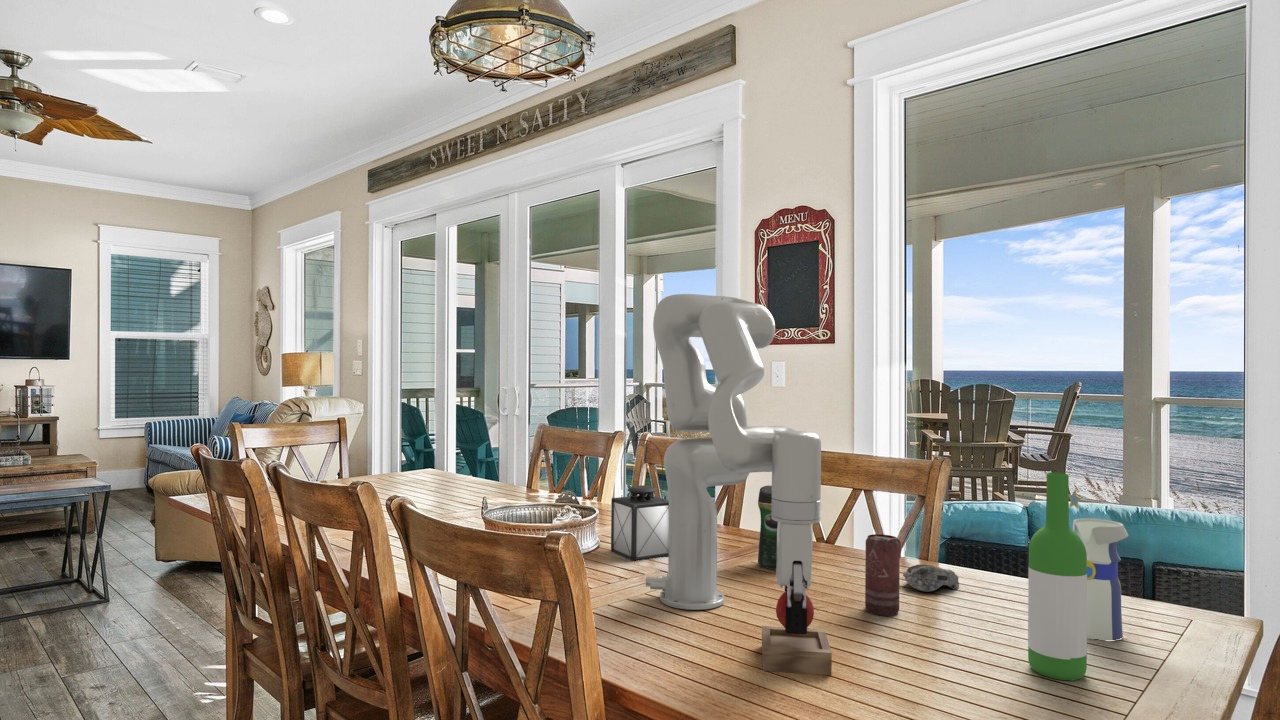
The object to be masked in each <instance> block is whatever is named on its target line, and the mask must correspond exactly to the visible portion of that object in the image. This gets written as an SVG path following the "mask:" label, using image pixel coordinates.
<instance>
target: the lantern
mask: <svg viewBox="0 0 1280 720" xmlns="http://www.w3.org/2000/svg"><path fill="white" fill-rule="evenodd" d="M637 441H646V442H648V443H651V444H652V445H654V446H655V448H656V449H657V450H658V453H659V455H660V460H661V471H662V473H661V474H662V476H661V478H662V481H661V483H662V492H664V461H663V458H662V454H661V451H660V449H659V448H658V446H657V445H656V444H655V443H654V442H652V441H651V440H648V439H635V440H633V441H631V442H629V443H628V444H627V445H626V446H625V447H624V449H623V452H622V454H621V455H622V456H621V460H620V483H621V489H623V473H622V472H623V471H622V469H623V458H624V453H625V451H626V449H627V448H628V446H629V445H631V444H632V443H634V442H637ZM656 491H657V489H656V488H655V487H653V486H651V485H632V486H630V487H629V488H627V492H630V493H629V494H630V495H629V496H621V497H619V496H618V497H611V511H610V513H611V515H610V516H611V517H610V519H611V523H610V525H611V527H610V552H611V553H614V554H617V555H618V556H620V557H623V558H625V559H628V560H630V561H631V562H633V561H634V562H637V561H638V560H639V561H645V560H651V559H653V558H654V559H659V558H660V557H661V558H667V557H668V551H669V499H666V498H663V497H662V498H661V497H658V496H654V493H655V492H656Z"/></svg>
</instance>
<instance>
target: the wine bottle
mask: <svg viewBox="0 0 1280 720" xmlns="http://www.w3.org/2000/svg"><path fill="white" fill-rule="evenodd" d="M1069 480H1070V479H1069V475H1068V473H1065V472H1064V473H1063V472H1055V471H1054V472H1053V471H1052V472H1047V473H1046V493H1045V494H1046V497H1045V498H1046V500H1045V502H1046V503H1045V505H1046V506H1045V507H1046V510H1045V524H1044V525H1043V526H1042V527H1041V528H1040V529H1037V530H1036V532H1035V533H1034V534H1033V535H1032V537H1031V538H1030V541H1029V544H1028V576H1027V577H1028V579H1027V581H1028V583H1027V585H1028V586H1027V587H1028V589H1027V591H1028V595H1027V597H1028V600H1027V601H1028V602H1027V604H1028V605H1027V609H1028V610H1027V612H1028V613H1027V617H1028V618H1027V623H1028V624H1027V646H1028V647H1027V648H1028V653H1027V655H1028V664H1029V666H1030V667H1031V669H1032V670H1033V671H1035V673H1038V674H1039V675H1042V676H1044V677H1047V678H1049V679H1055V680H1060V681H1076V680H1078V681H1079V680H1080V679H1082V678H1083V677H1084V676H1085V675H1086V673H1087V665H1088V664H1087V662H1088V661H1087V660H1088V659H1087V655H1088V638H1087V553H1086V549H1085V546H1084V544H1083V542H1082V540H1081V538H1080V537H1079V536H1078V535H1077V532H1076V531H1075V532H1074V531H1073V528H1071V527H1070V521H1069V520H1070V515H1069V514H1070V503H1069V502H1070V500H1069V499H1070V498H1069V494H1070V491H1069V489H1070V488H1069V484H1070V483H1069V482H1070V481H1069Z"/></svg>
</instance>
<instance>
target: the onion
mask: <svg viewBox="0 0 1280 720" xmlns="http://www.w3.org/2000/svg"><path fill="white" fill-rule="evenodd" d="M793 586H794V584H793ZM792 593H794V591H791V594H792ZM786 606H787V591H786V592H785V591H784V592H783V593H782V594H781V595H780V597H778V600H777V603H776V606H775V607H776V608H775V614H776V618H777V620H778V622H779V623H780V624H781V625H782V627H785V607H786ZM806 607H807V628H809V627H810V625H811V624H812V622H813V620H814V614H815V612H814V611H815V609H814V604H813V602H812V600H811V598H810V597H809V596H808V595H807V594H806ZM792 635H798V634H792Z"/></svg>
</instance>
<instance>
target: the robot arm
mask: <svg viewBox="0 0 1280 720" xmlns="http://www.w3.org/2000/svg"><path fill="white" fill-rule="evenodd" d="M652 323H653V324H652V330H653V337H654V341H655V345H656V347H657V348H656V349H657V350H658V353H659V357H660V361H661V365H662V369H663V370H662V372H663V381H664V382H663V384H664V392H665V394H664V395H665V403H666V412H667V418H668V422H669V424H670V426H671V427H672V429H674V430H676V431H678V432H685V433H686V432H688V433H694V432H696V433H699V432H709V435H710V437H696V438H692V437H691V438H689V437H688V438H683V439H679V440H676V441H674V442H672V443H671V444H670V445H669V446H668V447H667V449H666V451H665V453H664V457H663V460H664V461H663V468H664V471H665V472H664V473H665V478H666V485H667V492H668V493H667V494H668V499H667V500H669V551H668V559H667V560H668V561H667V562H668V563H667V564H668V565H667V569H668V570H667V571H668V572H667V574H666V575H661V577H655V576H646V578H645V587H650V590H661V592H660V594H659V600H660V602H661V603H662V604H664V605H666V606H668V607H672V608H675V609H679V610H680V609H681V610H686V611H687V610H689V611H690V610H691V611H703V610H710V609H715V608H718V607H720V606H723V604H724V603H725V601H726V600H725V594H724V592H722V591H721V590H718V588H717V587H718V584H717V583H718V509H717V505H716V503H715V501H714V500H713V498H712V496H711V495H710V493H709V492H708V489H707V488H710V487H719V486H721V487H723V486H734V485H739V484H741V483H743V482H745V481H746V480H747V478H748V477H749V474H750V473H763V472H764V473H771V486H772V516H771V518H772V520H774V521H777V522H778V527H777V563H776V569H775V573H776V576H775V577H776V582H777V585H778V587H780V588H781V589H783V587H784V592H786V591H787V606H786V607H785V631H786V633H788V634H806V633H807V629H808V627H807V607H806V595H807V589H809V588H810V587H811V584H812V568H813V567H812V566H813V541H814V540H813V538H814V537H813V531H814V529H813V525H814V524H817V523H820V522H821V511H822V510H821V509H822V508H821V506H822V505H821V504H822V502H821V492H822V488H821V487H822V484H821V483H822V480H821V479H822V439H821V438H820V436H819V435H818V434H817V433H815V432H812V431H806V430H795V429H793V428H791V427H789V426H784V425H771V426H770V425H767V426H765V425H759V426H755V425H754V426H748V419H747V413H746V412H747V411H746V405H745V402H744V399H743V396H742V394H744V393H746V392H748V391H749V390H752V389H753V388H755V387H756V386H757V385H758V384H759V383H760V382H761V381H762V380H763V378H764V376H765V367H764V364H763V363H762V359H761V357H760V355H759V352H758V350H757V349H765V348H767V347H768V346H770V345H771V343H772V342H773V340H774V338H775V334H776V323H775V319H774V317H773V315H772V313H771V312H770V310H769V309H768V308H767V307H765V306H764V305H762V304H759V303H756V302H752V301H748V300H744V299H742V298H741V299H740V298H738V297H732V296H724V295H708V294H707V295H706V294H695V293H678V294H670V295H667V296H665V297H664V298H662V299H661V300H660V301H659V302H658V304H657V305H656V308H655V311H654V314H653V322H652ZM690 338H701V340H702V341H703V345H704V347H705V350H706V353H707V355H708V359H709V361H710V364H711V367H712V370H713V372H714V376H715V378H716V382H717V384H713V383H712V384H711V383H709V382H708V379H707V374H706V373H707V371H706V364H705V360H704V358H703V356H702V354H701V352H700V351H699V350H698V348H697V347H696V346H695V345H694V343H693V342H691V340H690ZM793 584H794V586H793ZM791 591H794V593H792V594H791Z"/></svg>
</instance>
